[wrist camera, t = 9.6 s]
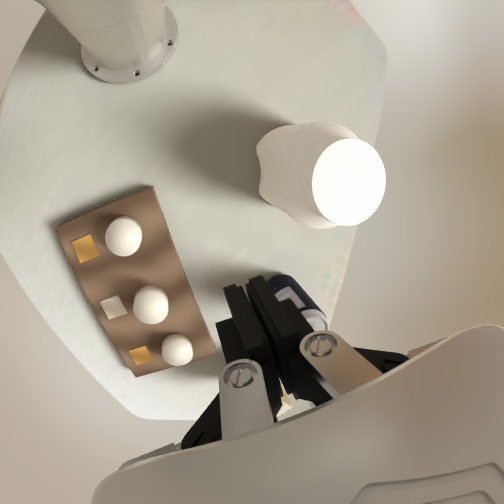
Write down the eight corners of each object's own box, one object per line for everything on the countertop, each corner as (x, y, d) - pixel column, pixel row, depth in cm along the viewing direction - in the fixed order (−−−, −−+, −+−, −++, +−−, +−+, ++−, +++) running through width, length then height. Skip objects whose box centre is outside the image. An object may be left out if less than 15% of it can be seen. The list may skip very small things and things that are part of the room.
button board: (60, 224, 34) (54, 228, 32) (153, 186, 36) (152, 188, 34) (136, 369, 44) (135, 378, 42) (214, 345, 46) (217, 353, 44)
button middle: (129, 292, 35) (127, 299, 34) (160, 281, 36) (160, 288, 34) (143, 319, 37) (142, 328, 35) (173, 309, 38) (173, 318, 36)
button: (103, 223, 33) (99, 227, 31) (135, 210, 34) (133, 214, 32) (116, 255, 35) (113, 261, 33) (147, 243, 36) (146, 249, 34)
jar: (254, 126, 36) (300, 118, 23) (321, 125, 38) (390, 122, 25) (260, 212, 40) (305, 250, 27) (324, 204, 42) (388, 235, 29)
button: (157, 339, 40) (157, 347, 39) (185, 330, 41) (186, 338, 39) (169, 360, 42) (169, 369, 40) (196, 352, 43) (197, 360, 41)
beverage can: (263, 309, 46) (290, 358, 35) (256, 277, 44) (284, 322, 33) (297, 299, 47) (331, 343, 36) (293, 267, 45) (330, 307, 34)
